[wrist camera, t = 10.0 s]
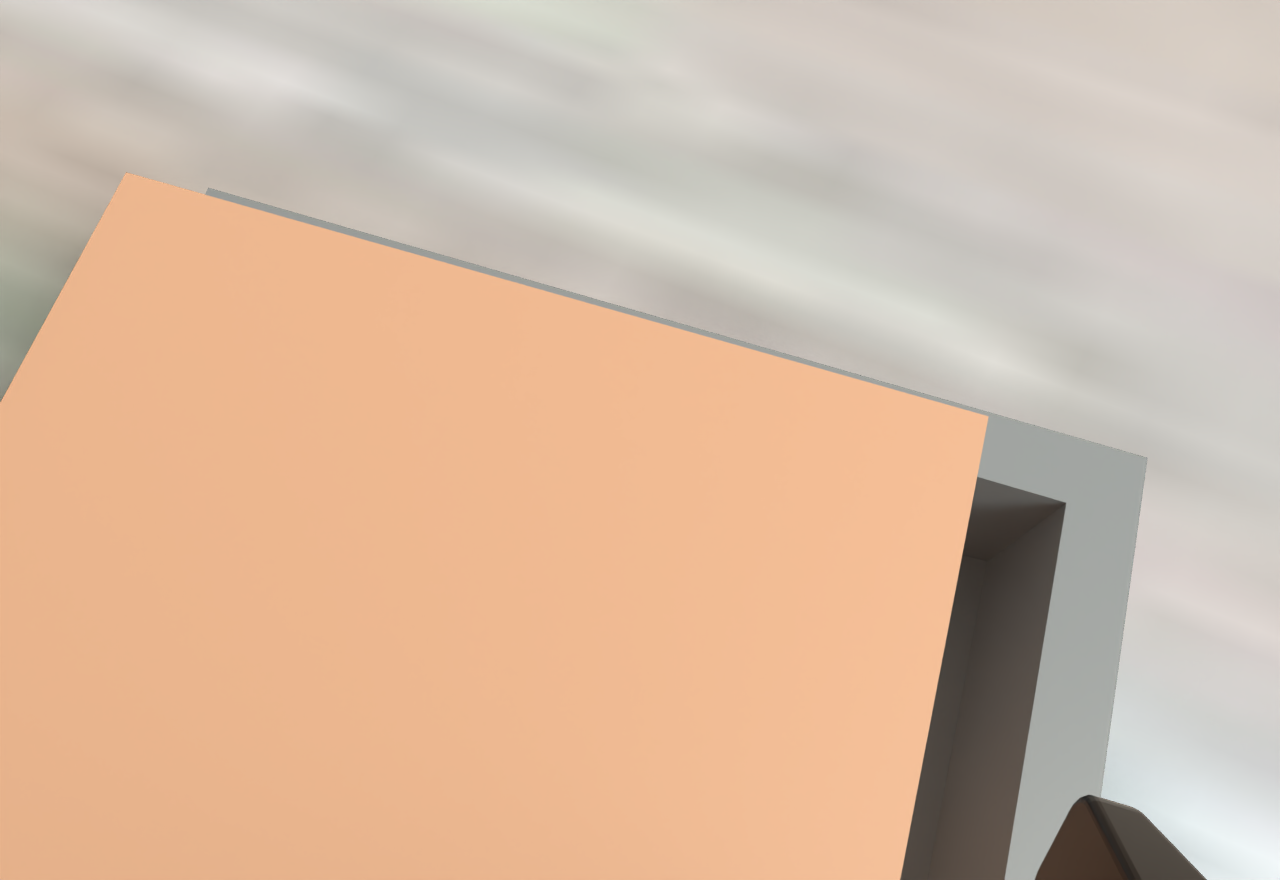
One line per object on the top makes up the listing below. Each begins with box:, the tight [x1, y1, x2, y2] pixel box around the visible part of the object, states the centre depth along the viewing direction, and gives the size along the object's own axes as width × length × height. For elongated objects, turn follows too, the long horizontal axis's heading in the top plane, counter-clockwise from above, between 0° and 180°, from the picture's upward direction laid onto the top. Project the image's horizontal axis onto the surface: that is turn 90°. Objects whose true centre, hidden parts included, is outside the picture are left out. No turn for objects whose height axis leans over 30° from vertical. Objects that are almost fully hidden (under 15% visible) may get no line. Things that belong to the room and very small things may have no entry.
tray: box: [205, 188, 1147, 880], centre depth 15 cm, size 14×14×4 cm
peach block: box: [0, 172, 989, 880], centre depth 11 cm, size 5×5×12 cm
